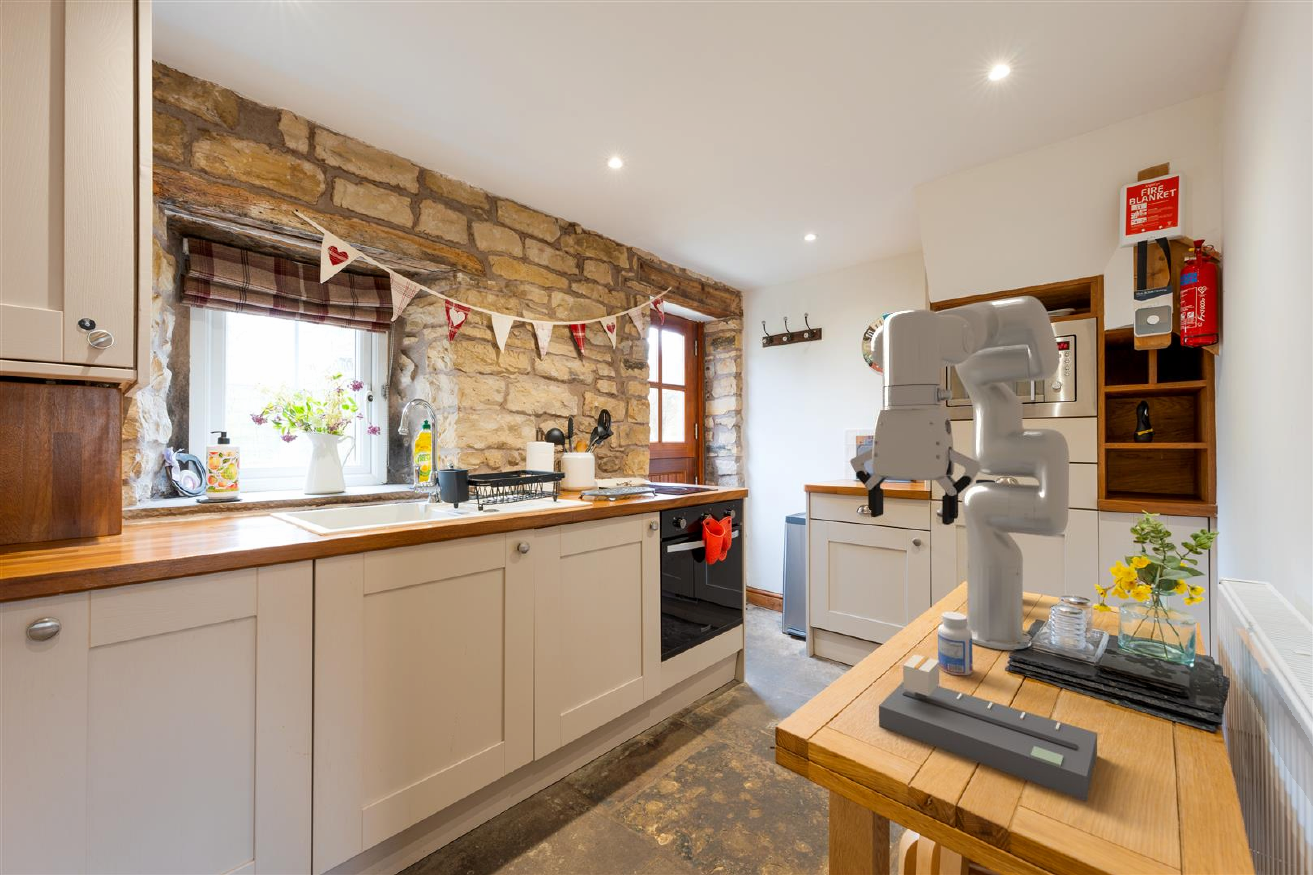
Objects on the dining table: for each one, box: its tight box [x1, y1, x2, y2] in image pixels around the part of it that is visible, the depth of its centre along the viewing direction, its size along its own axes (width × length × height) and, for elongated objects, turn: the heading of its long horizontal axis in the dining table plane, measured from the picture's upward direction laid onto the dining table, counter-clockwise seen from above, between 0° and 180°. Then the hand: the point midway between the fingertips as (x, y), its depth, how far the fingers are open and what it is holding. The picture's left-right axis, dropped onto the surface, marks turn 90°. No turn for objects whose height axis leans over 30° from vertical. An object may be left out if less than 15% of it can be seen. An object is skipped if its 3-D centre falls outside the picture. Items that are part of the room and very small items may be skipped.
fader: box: [902, 654, 940, 699], centre depth 82 cm, size 5×4×5 cm
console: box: [878, 681, 1098, 803], centre depth 76 cm, size 12×24×3 cm, turn 47°
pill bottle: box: [937, 611, 974, 676], centre depth 98 cm, size 6×5×10 cm
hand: (911, 519), depth 78 cm, fingers open, 9 cm apart
